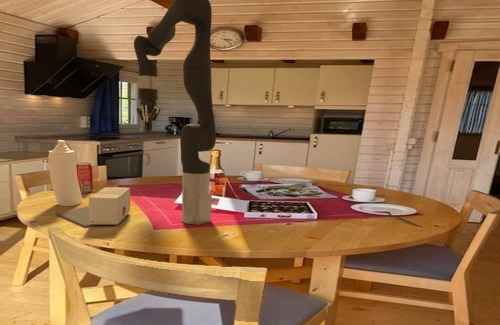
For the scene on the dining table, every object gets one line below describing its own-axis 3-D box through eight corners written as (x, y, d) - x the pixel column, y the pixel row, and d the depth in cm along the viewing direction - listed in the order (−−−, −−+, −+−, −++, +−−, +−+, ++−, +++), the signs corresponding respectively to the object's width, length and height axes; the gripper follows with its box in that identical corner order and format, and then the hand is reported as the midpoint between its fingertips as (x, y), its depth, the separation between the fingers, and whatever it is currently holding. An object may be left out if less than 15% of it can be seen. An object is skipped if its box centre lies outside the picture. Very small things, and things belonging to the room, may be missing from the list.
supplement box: (130, 211, 116) (118, 225, 101) (105, 211, 115) (88, 225, 100) (130, 187, 115) (117, 198, 100) (104, 186, 114) (88, 197, 99)
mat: (125, 217, 111) (125, 215, 111) (85, 227, 100) (85, 225, 100) (94, 206, 123) (94, 204, 123) (55, 214, 111) (55, 212, 111)
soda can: (96, 191, 146) (95, 163, 144) (81, 194, 140) (80, 165, 138) (87, 189, 150) (86, 161, 148) (72, 191, 144) (71, 163, 142)
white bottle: (81, 207, 121) (79, 141, 118) (48, 209, 117) (45, 141, 114) (84, 199, 132) (82, 139, 128) (54, 201, 128) (51, 138, 124)
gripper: (166, 88, 128) (166, 132, 131) (145, 89, 136) (145, 130, 138) (150, 86, 122) (150, 132, 125) (130, 87, 130) (130, 130, 132)
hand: (148, 131), depth 131 cm, fingers closed
